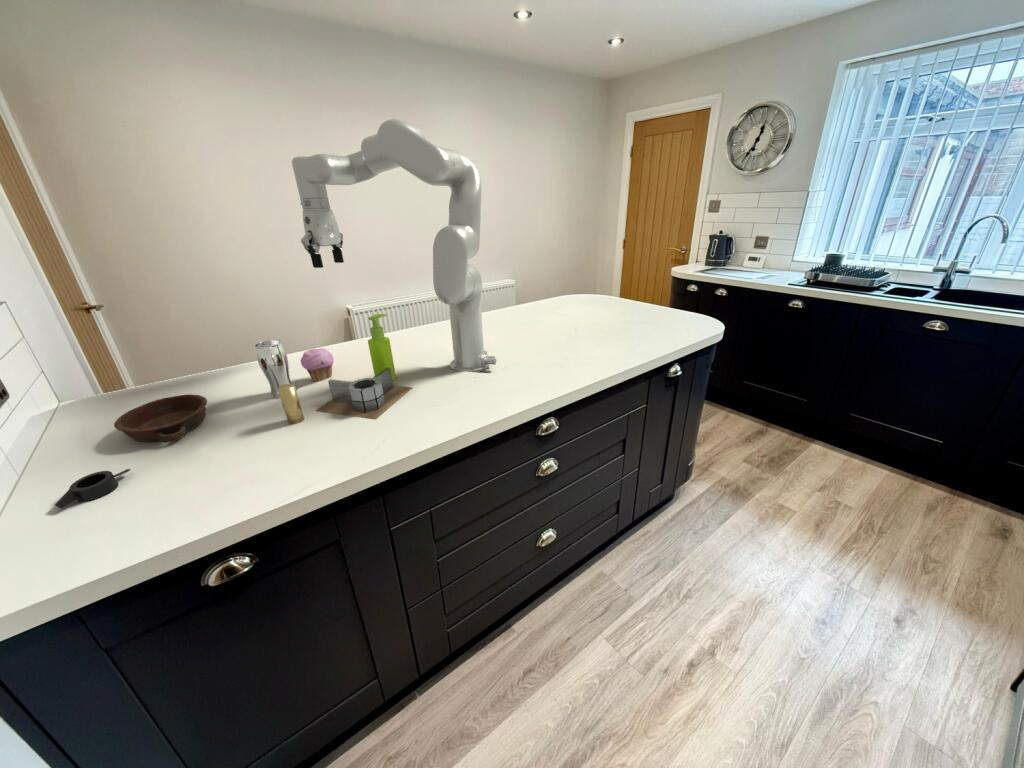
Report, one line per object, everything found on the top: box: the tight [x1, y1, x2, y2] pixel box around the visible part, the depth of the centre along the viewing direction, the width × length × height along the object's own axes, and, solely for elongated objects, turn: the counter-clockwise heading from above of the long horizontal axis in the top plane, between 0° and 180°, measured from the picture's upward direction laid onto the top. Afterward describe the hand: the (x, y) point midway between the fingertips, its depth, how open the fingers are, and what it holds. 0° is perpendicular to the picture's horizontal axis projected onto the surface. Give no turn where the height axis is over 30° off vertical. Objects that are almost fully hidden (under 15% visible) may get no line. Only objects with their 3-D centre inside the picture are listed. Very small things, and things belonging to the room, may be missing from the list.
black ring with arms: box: [54, 468, 131, 510], centre depth 74 cm, size 8×10×3 cm
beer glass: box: [253, 338, 293, 398], centre depth 108 cm, size 7×7×15 cm
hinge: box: [327, 368, 394, 413], centre depth 103 cm, size 15×15×6 cm
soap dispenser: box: [367, 313, 397, 381], centre depth 112 cm, size 6×7×20 cm
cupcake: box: [300, 347, 334, 383], centre depth 116 cm, size 9×9×10 cm
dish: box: [113, 393, 208, 443], centre depth 95 cm, size 18×22×5 cm
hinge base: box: [314, 384, 414, 421], centre depth 104 cm, size 18×18×1 cm
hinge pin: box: [278, 383, 306, 425], centre depth 93 cm, size 4×4×10 cm
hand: (329, 265), depth 122 cm, fingers open, 9 cm apart
